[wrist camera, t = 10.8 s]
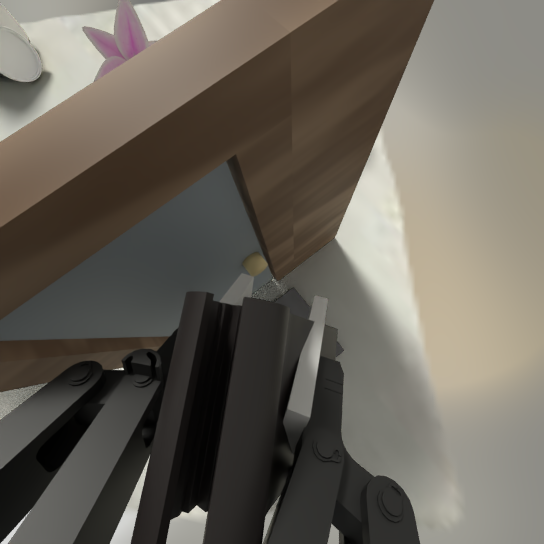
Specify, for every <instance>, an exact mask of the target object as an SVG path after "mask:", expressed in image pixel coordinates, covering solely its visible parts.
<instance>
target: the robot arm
mask: <svg viewBox="0 0 544 544" xmlns="http://www.w3.org/2000/svg"><path fill="white" fill-rule="evenodd" d="M253 281H254V277H253V276H250V275H246V274H243V273H241V275H240V276H239V277H238V279H237V280H236V281H235V282H234V284H233V285H232V286H231V287H230V289H229V290H228V291H227V293H226V294H225V295H224V296H223V298H222V299H221V300H220V302H221V303H227V304H231V305H240V306H242V303H243V298H244V297H250V298H251V296H252V289H253ZM327 305H328V299H327V298H324V297H321V296H317V295H315V296H314V299H313V302H312V305H311V309H310V312H309V315H308V318H307V319H309V320H312V321H315V322H314V324H313V326H312V329H311V331H310V333H309V336H308V338H307V340H306V342H305V345H304V347H303V349H302V352H301V354H300V358H299V362H298V366H297V370H296V374H295V377H294V381H293V385H292V389H291V393H290V397H289V400H288V404H287V408H286V412H285V416H284V420H283V424H284V427H285V431H286V434H287V437H288V441H289V444H290V447H291V451H292V454H294V459H293V464H292V466H291V468H290V471H289V473H288V476H287V479H286V482H285V484H284V487H283V490H282V493H281V495H280V498H279V501H278V504H277V506H276V509H275V512H274V515H273V518H272V520H271V523H270V526H269V528H268V531H267V534H266V537H265V540H264V542H263V544H327V542H328V538H329V532H330V528H331V523H332V524H333V525H334V526H335V527H336V528H337V529H338V530H339V544H420V541H419V536H418V531H417V526H416V521H415V516H414V512H413V509H412V506H411V503H410V500H409V498H408V497H407V495H406V493H405V492H404V490H403V489H402V488H401V487H400V486H399V485H398V484H397V483H396V482H395V481H394V480H392V479H390V478H388V477H386V476H376V477H374V476H372V475H371V474H370V473H369V472H367V471H366V470H365V469H364V468H362V467H361V466H360V465H359V464H358V463H356V462H355V461H354V460H353V459H352V458H351V456H350V455H349V454H348V452H347V451H346V449H345V447H344V445H343V441H342V437H341V422H342V400H343V396H342V395H343V377H344V373H343V370H342V367H341V365H340V362H338V361H335V360H332V359H329V358H326V357H323V356H320V351H321V344H322V338H323V331H324V325H325V318H326V312H327ZM177 332H178V329H176V330H175V331H174V332H173V333H172V335H171V336H170V337H169V338H168V339H167V340H166V341H165V342H164V343H163V345H162V346H161V347H160V348H159V349H158V350H157V351H154V350H152V349H139V350H135V351H133V352H131V353H129V354H127V355H126V356H125V357H124V358H123V359H122V360H121V361H122V364H123V368H124V370H103V367H102V365H101V364H100V363H98V362H96V361H92V360H90V361H82V362H79V363H76V364H74V365H72V366H71V367H69V368H67V369H66V370H65V371H63V372H62V373H61V374H59V375H58V376H57V377H56V378H54V379H53V380H52V381H50V382H49V383H48V384H47V385H45V386H44V387H43V388H41V389H40V390H39V391H37V392H36V393H35V394H34V395H32V396H31V397H30V398H28V399H27V400H26V401H25V402H23V403H22V404H21V405H19V406H18V407H17V408H16V409H14V410H13V411H12V412H10V413H9V414H8V415H6V416H5V417H4V418H3V419H1V420H0V543H1V542H2V541H3V540H4V539H5V538H6V537H7V535H8V534H9V533H10V532H11V531H12V530H13V529H14V528H15V527H16V526H17V524H18V523H19V522H20V521H21V520H22V519H23V518H24V517H25V516H26V514H27V513H28V512H29V511H30V510H31V509H32V510H31V511H30V513H29V514H28V515H27V517H26V518H25V520H24V521H23V523H22V524H21V526H20V527H19V528H18V530H17V531H16V533H15V534H14V536H13V537H12V538H11V540H10V541H9V543H8V544H110V541H111V539H112V537H113V535H114V533H115V530H116V528H117V526H118V524H119V521H120V519H121V517H122V515H123V513H124V511H125V509H126V506H127V504H128V502H129V500H130V498H131V495H132V493H133V491H134V489H135V487H136V484H137V482H138V480H139V478H140V476H141V473H142V471H143V469H144V467H145V465H146V462H147V460H148V458H149V456H150V454H151V450H152V445H153V441H154V436H155V432H156V427H157V423H158V418H159V413H160V409H161V404H162V400H163V395H164V391H165V386H166V382H167V377H168V373H169V368H170V364H171V359H172V355H173V350H174V346H175V341H176V337H177ZM294 452H295V453H294Z"/></svg>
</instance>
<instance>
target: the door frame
mask: <svg viewBox="0 0 544 544" xmlns="http://www.w3.org/2000/svg"><path fill="white" fill-rule="evenodd" d="M433 2H434V0H221V1H219V2H218V3H216V4H215V5H213V6H211V7H210V8H208V9H207V10H205V11H204V12H202V13H201V14H199V15H197V16H196V17H194V18H193V19H191V20H190V21H188V22H187V23H185V24H183V25H182V26H180V27H179V28H177V29H176V30H174V31H173V32H171V33H169V34H168V35H166V36H165V37H163V38H162V39H160V40H158V41H157V42H155V43H154V44H152V45H151V46H149V47H148V48H146V49H144V50H143V51H141V52H140V53H138V54H137V55H135V56H134V57H132V58H130V59H129V60H127V61H126V62H124V63H123V64H121V65H120V66H118V67H116V68H115V69H113V70H112V71H110V72H109V73H107V74H105V75H104V76H102V77H101V78H99V79H98V80H96V81H95V82H93V83H91V84H90V85H88V86H87V87H85V88H84V89H82V90H81V91H79V92H77V93H76V94H74V95H73V96H71V97H70V98H68V99H67V100H65V101H63V102H62V103H60V104H59V105H57V106H56V107H54V108H52V109H51V110H49V111H48V112H46V113H45V114H43V115H42V116H40V117H38V118H37V119H35V120H34V121H32V122H31V123H29V124H28V125H26V126H24V127H23V128H21V129H20V130H18V131H17V132H15V133H14V134H12V135H10V136H9V137H7V138H6V139H4V140H3V141H1V142H0V320H1V319H3V318H4V317H5V316H7V315H8V314H10V313H11V312H13V311H14V310H15V309H17V308H18V307H20V306H21V305H22V304H24V303H25V302H27V301H28V300H30V299H31V298H32V297H34V296H35V295H37V294H38V293H40V292H41V291H42V290H44V289H45V288H47V287H48V286H49V285H51V284H52V283H54V282H55V281H57V280H58V279H59V278H61V277H62V276H64V275H65V274H66V273H68V272H69V271H71V270H72V269H74V268H75V267H76V266H78V265H79V264H81V263H82V262H83V261H85V260H86V259H88V258H89V257H91V256H92V255H93V254H95V253H96V252H98V251H99V250H101V249H102V248H103V247H105V246H106V245H108V244H109V243H110V242H112V241H113V240H115V239H116V238H118V237H119V236H120V235H122V234H123V233H125V232H126V231H127V230H129V229H130V228H132V227H133V226H135V225H136V224H137V223H139V222H140V221H142V220H143V219H144V218H146V217H147V216H149V215H150V214H152V213H153V212H154V211H156V210H157V209H159V208H160V207H161V206H163V205H164V204H166V203H167V202H169V201H170V200H171V199H173V198H174V197H176V196H177V195H179V194H180V193H181V192H183V191H184V190H186V189H187V188H188V187H190V186H191V185H193V184H194V183H196V182H197V181H198V180H200V179H201V178H203V177H204V176H205V175H207V174H208V173H210V172H211V171H213V170H214V169H215V168H217V167H218V166H220V165H221V164H222V163H224V162H225V161H226V162H227V165H228V167H229V170H230V172H231V175H232V177H233V180H234V182H235V185H236V187H237V190H238V192H239V195H240V197H241V200H242V202H243V205H244V207H245V210H246V212H247V215H248V217H249V220H250V222H251V225H252V227H253V230H254V232H255V235H256V237H257V240H258V242H259V245H260V247H261V250H262V252H263V255H264V257H265V260H266V262H267V263H268V267H269V270H270V272H271V273H272V274H273V276H274V277H275V278H276V279H277V281H279V280H280V279H282V278H283V277H284V276H286V275H287V274H288V273H289V272H291V271H292V270H293V269H295V268H296V267H297V266H299V265H300V264H301V263H302V262H304V261H305V260H306V259H308V258H309V257H310V256H312V255H313V254H314V253H315V252H317V251H318V250H319V249H321V248H322V247H323V246H325V245H326V244H327V243H329V242H330V241H331V240H332V239H334V238H335V236H336V234H337V231H338V229H339V227H340V224H341V222H342V219H343V217H344V215H345V212H346V210H347V207H348V205H349V203H350V200H351V198H352V195H353V193H354V191H355V188H356V186H357V183H358V181H359V179H360V176H361V174H362V171H363V169H364V167H365V164H366V162H367V160H368V157H369V155H370V152H371V150H372V148H373V145H374V143H375V140H376V138H377V136H378V133H379V131H380V128H381V126H382V124H383V121H384V119H385V116H386V114H387V112H388V109H389V107H390V104H391V102H392V100H393V97H394V95H395V93H396V90H397V88H398V85H399V83H400V81H401V78H402V75H403V73H404V71H405V69H406V66H407V64H408V61H409V59H410V57H411V54H412V52H413V49H414V47H415V45H416V42H417V40H418V38H419V35H420V33H421V30H422V28H423V25H424V23H425V21H426V18H427V16H428V13H429V11H430V9H431V6H432V4H433ZM169 337H170V336H163V337H125V338H86V339H48V340H10V341H0V392H3V391H8V390H13V389H18V388H23V387H28V386H33V385H38V384H43V383H48V382H50V381H52V380H53V379H54V378H56V377H57V376H58V375H59V374H61V373H62V372H63V371H65V370H66V369H67V368H69V367H71V366H72V365H74V364H76V363H79V362H82V361H90V360H92V361H96V362H98V363H100V364H101V365H102V367H103V370H113V369H118V368H123V364H122V361H121V360H122V359H123V358H124V357H125V356H126V355H127V354H129V353H131V352H133V351H135V350H139V349H152V350H154V351H157V350H158V349H159V348H160V347H161V346H162V345H163V343H164V342H165V341H166V340H167V339H168V338H169Z"/></svg>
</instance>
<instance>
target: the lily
mask: <svg viewBox="0 0 544 544" xmlns="http://www.w3.org/2000/svg"><path fill="white" fill-rule="evenodd" d="M82 29H83V31H84V33H85V34H86V36H87V37H88V39H89V40H90V41H91V42H92V44H93V45H94V46H95V47H96V49H97V50H98V51H99V52H100V53H101V54H102V55H103V57H104V58H105V59H106V60H105V61H104V63H103V64H102V66H101V67H100V69H99V71H98V73H97V75H96V77H95V80H94V82H95V81H96V80H98V79H99V78H101V77H102V76H104V75H105V74H107V73H109V72H110V71H112V70H113V69H115V68H116V67H118V66H120V65H121V64H123V63H124V62H126V61H127V60H129V59H130V58H132V57H134V56H135V55H137V54H138V53H140V52H141V51H143V50H144V49H146V48H148V47H149V46H151V45H152V44H154V43H155V42H157V41H148V39H147V37H146V34H145V31H144V29H143V27H142V24H141V22H140V20H139V18H138V16H137V13H136V11H135V9H134V8H133V6H132V4H131V2H130V0H119V1H118V6H117V10H116V16H115V23H114V35H112V34H110V33H107V32H105V31H102V30H99V29H95V28H91V27H86V26H84V27H82Z"/></svg>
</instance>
